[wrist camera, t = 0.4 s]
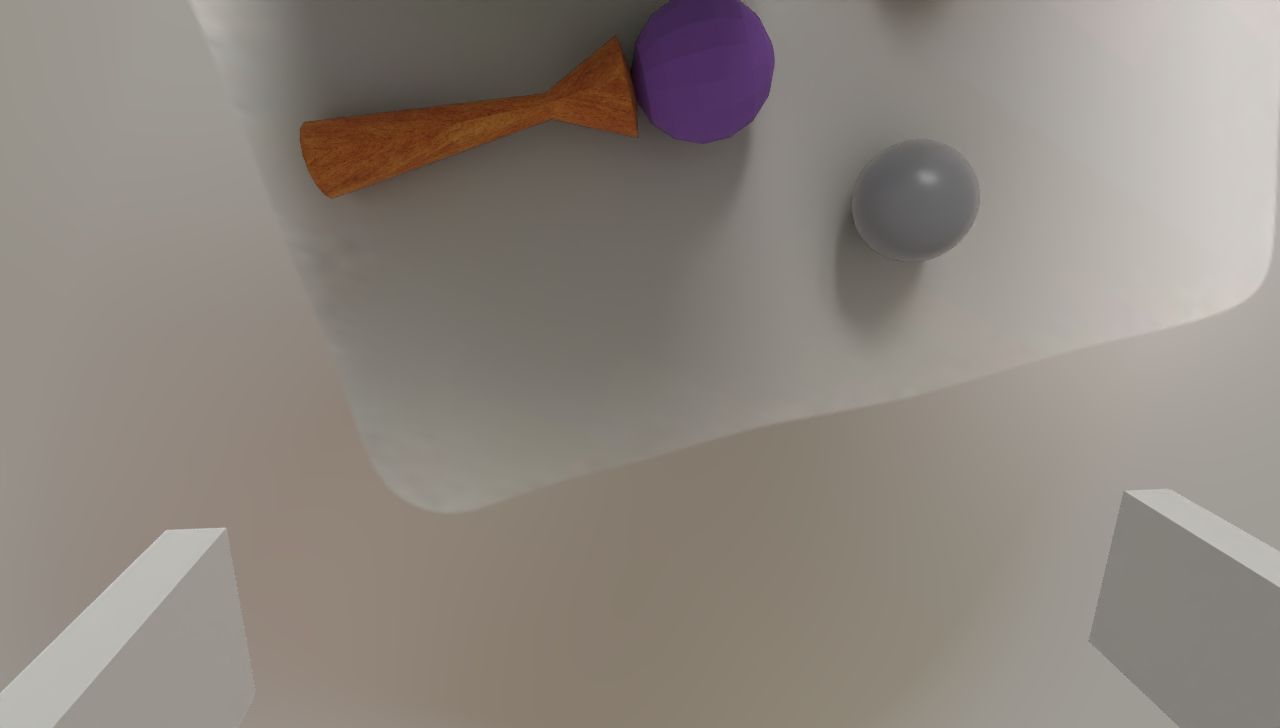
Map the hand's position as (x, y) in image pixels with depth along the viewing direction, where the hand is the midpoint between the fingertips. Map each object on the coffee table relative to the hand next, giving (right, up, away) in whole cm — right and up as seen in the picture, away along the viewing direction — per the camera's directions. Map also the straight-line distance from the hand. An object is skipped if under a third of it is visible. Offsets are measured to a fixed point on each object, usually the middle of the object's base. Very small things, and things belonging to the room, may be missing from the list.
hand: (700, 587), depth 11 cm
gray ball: (+12, +11, +22) cm, 28 cm away
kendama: (-5, +15, +23) cm, 28 cm away
